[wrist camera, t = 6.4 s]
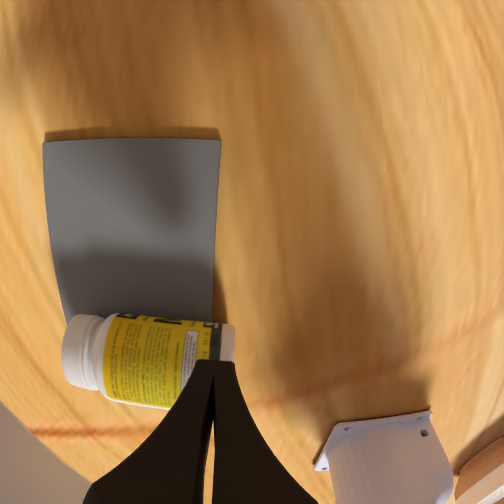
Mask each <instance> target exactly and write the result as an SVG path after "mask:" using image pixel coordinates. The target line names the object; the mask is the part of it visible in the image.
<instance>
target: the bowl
mask: <svg viewBox="0 0 504 504" xmlns="http://www.w3.org/2000/svg"><path fill="white" fill-rule="evenodd" d="M459 474H460V477H459V479H458V482H457V484H456V487H455V494H454V495H455V500H456V504H493V503H495V502H496V501H498V500H499V499H501V498H502V497H504V436H503V437H502V438H500V439H498V440H496V441H495V442H493V443H492V444H490V445H489V446H487V447H486V448H485V449H483V450H482V451H481V452H479V453H478V454H477V455H475V456H474V457H473V458H472V459H471V460H469V461H468V462H467V463H466V464H465V465H464V466H463V467H462V469H461V470H460V472H459Z"/></svg>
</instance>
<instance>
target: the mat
mask: <svg viewBox="0 0 504 504" xmlns="http://www.w3.org/2000/svg"><path fill="white" fill-rule="evenodd" d="M220 153H221V140H214V139H193V138H98V139H77V140H62V141H49V142H44V143H43V173H44V189H45V201H46V211H47V220H48V229H49V236H50V243H51V250H52V256H53V262H54V267H55V273H56V278H57V283H58V288H59V293H60V297H61V302H62V306H63V310H64V314H65V318H66V322H67V325H68V324H69V322H70V320H71V319H72V318H73V317H74V316H76V315H78V314H85V315H98V316H100V317H103V318H105V319H107V318H108V317H109V316H110V315H112V314H115V313H128V314H134V315H143V316H151V317H158V318H172V319H179V320H189V321H200V322H212V304H213V276H214V253H215V233H216V214H217V197H218V181H219V167H220Z"/></svg>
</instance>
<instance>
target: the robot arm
mask: <svg viewBox="0 0 504 504" xmlns="http://www.w3.org/2000/svg"><path fill="white" fill-rule="evenodd" d="M432 415H433V413H432V411H424V412H418V413H413V414H407V415H401V416H394V417H387V418H380V419H372V420H363V421H354V422H343V423H338V424H336V425H335V426H334V428H333V430H332V432H331V434H330V436H329V438H328V440H327V442H326V444H325V446H324V448H323V450H322V452H321V454H320V456H319V458H318V460H317V462H316V464H315V465H314V470H315V471H326V470H330V475H331V480H332V484H333V489H334V494H335V499H336V504H445V503H446V501H447V500H448V499H449V497H450V495H451V493H452V489H453V471H452V468H451V465H450V462H449V460H448V458H447V456H446V454H445V452H444V449H443V447H442V445H441V443H440V441H439V439H438V437H437V435H436V432H435V430H434V428H433V426H432V424H431V422H430V418H431V417H432ZM212 423H214V443H215V459H214V475H213V492H212V504H318V502H317V501H316V500H315V499H314V498H313V497H312V496H311V495H310V494H308V493H307V492H306V491H305V490H304V489H303V488H302V487H301V486H300V485H299V484H298V483H297V482H296V480H295V479H294V478H293V477H292V476H291V475H290V474H289V473H288V471H287V470H286V469H285V468H284V466H283V465H282V464H281V463H280V461H279V460H278V459H277V458H276V456H275V455H274V454H273V452H272V451H271V449H270V448H269V446H268V445H267V443H266V442H265V440H264V438H263V437H262V435H261V433H260V432H259V430H258V428H257V426H256V424H255V422H254V420H253V418H252V416H251V414H250V412H249V410H248V408H247V405H246V403H245V400H244V398H243V395H242V393H241V390H240V387H239V383H238V380H237V376H236V371H235V364H234V363H233V362H232V361H220V360H206V359H198V360H197V361H196V363H195V366H194V368H193V371H192V373H191V375H190V377H189V379H188V381H187V383H186V385H185V387H184V388H183V390H182V392H181V393H180V395H179V397H178V398H177V400H176V402H175V403H174V405H173V406H172V407H171V409H170V410H169V412H168V413H167V415H166V416H165V417H164V419H163V420H162V421H161V423H160V424H159V425H158V426H157V428H156V429H155V430H154V431H153V432H152V433H151V435H150V436H149V437H148V438H147V439H146V440H145V441H144V442H143V443H142V444H141V445H140V446H139V447H138V448H137V449H136V450H135V451H134V452H133V453H132V454H131V455H130V456H128V457H127V458H126V459H125V460H124V461H122V462H121V463H120V464H119V465H118V466H117V467H115V468H114V469H113V470H111V471H110V472H108V473H107V474H106V475H104V476H103V477H101V478H100V479H98V480H97V481H95V482H94V483H93V484H92V485H91V487H90V488H89V490H88V492H87V494H86V496H85V498H84V501H83V504H203V494H204V474H205V466H206V459H207V453H208V447H209V441H210V435H211V429H212Z"/></svg>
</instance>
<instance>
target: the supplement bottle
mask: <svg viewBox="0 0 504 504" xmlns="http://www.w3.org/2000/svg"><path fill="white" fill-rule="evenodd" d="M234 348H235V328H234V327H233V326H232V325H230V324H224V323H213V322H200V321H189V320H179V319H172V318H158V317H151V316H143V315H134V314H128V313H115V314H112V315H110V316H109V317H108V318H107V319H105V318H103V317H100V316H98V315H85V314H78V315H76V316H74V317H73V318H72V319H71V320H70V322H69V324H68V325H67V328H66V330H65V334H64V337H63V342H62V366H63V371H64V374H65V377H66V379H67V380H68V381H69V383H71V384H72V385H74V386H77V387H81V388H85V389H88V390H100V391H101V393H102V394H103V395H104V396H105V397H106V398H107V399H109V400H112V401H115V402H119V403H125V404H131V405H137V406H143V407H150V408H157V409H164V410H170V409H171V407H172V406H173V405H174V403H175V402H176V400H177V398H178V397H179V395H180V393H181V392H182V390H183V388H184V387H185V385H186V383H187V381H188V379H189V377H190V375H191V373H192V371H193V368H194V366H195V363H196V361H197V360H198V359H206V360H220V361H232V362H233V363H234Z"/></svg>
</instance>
